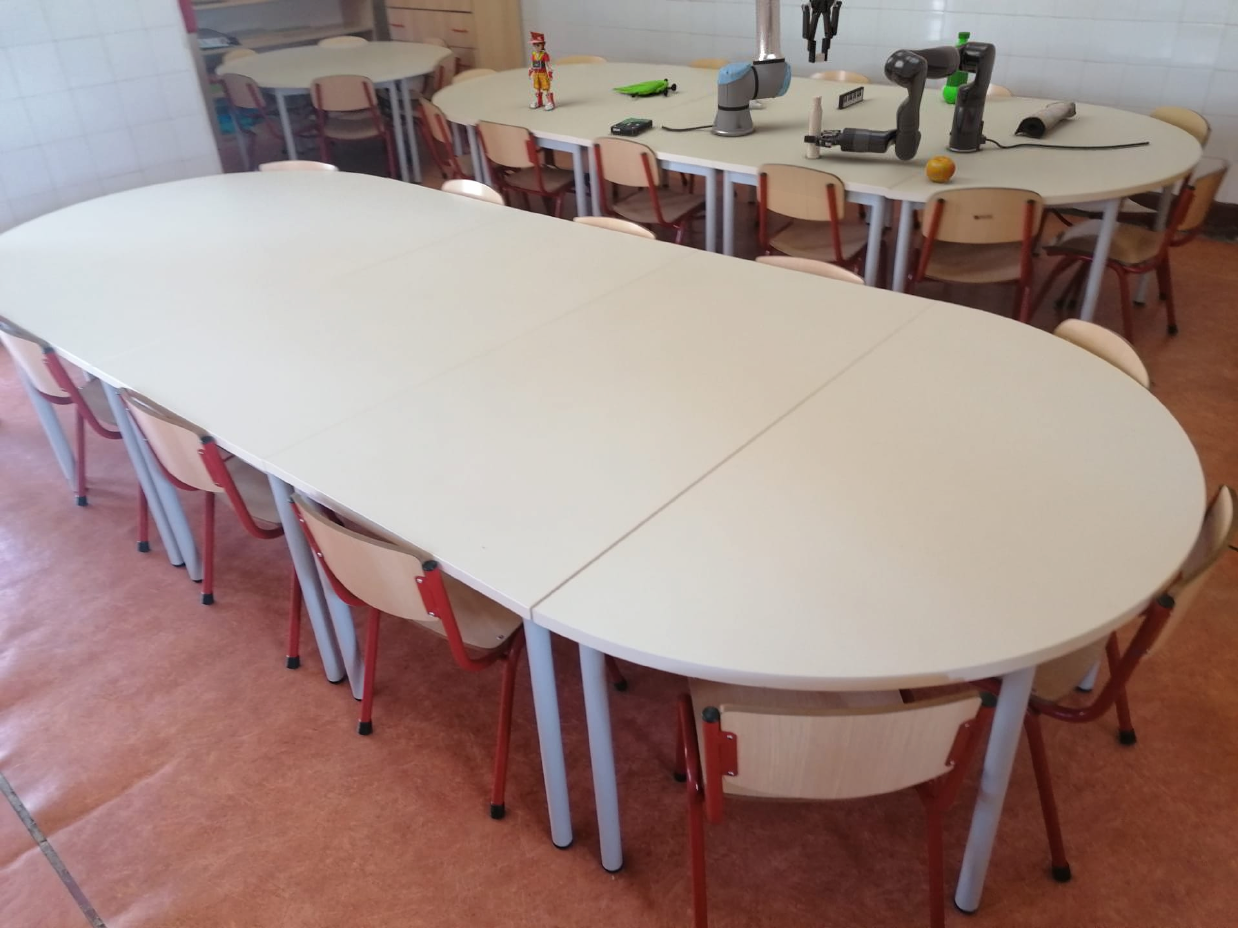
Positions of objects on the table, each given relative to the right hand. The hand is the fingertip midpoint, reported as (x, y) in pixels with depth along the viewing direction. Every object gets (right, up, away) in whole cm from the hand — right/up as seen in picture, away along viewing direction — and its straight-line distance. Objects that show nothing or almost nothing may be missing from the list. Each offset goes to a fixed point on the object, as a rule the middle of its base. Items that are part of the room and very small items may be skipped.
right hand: (806, 137), depth 303 cm
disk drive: (-59, +18, +42) cm, 74 cm away
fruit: (+36, -23, -25) cm, 49 cm away
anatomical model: (-11, +36, +65) cm, 75 cm away
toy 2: (-54, +54, +94) cm, 122 cm away
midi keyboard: (+30, +34, +58) cm, 73 cm away
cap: (+1, +21, -15) cm, 26 cm away
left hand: (+1, +19, -14) cm, 24 cm away
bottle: (+3, -6, +3) cm, 7 cm away
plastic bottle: (+69, +33, +52) cm, 93 cm away
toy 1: (-96, +42, +80) cm, 132 cm away
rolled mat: (+89, +10, +17) cm, 91 cm away
